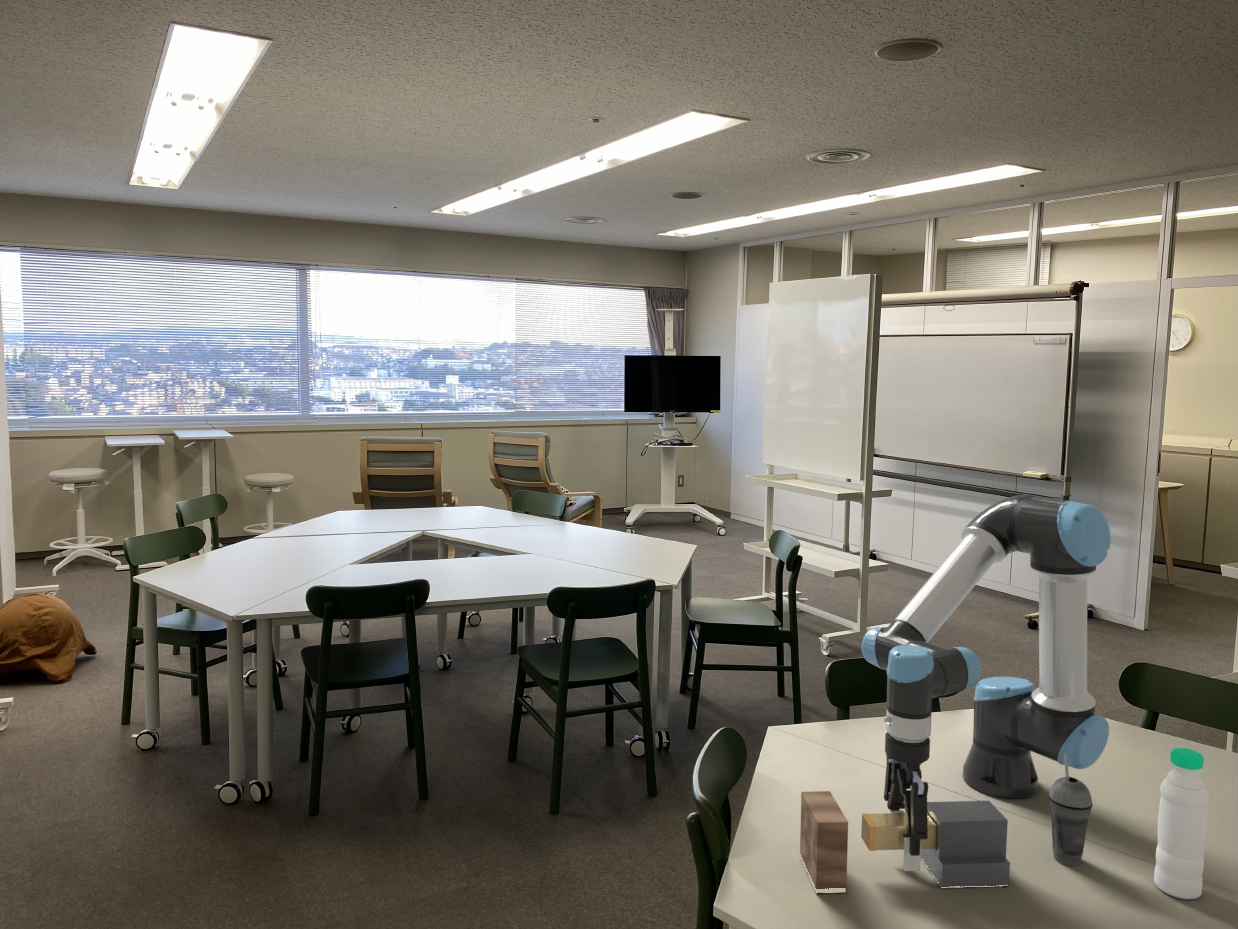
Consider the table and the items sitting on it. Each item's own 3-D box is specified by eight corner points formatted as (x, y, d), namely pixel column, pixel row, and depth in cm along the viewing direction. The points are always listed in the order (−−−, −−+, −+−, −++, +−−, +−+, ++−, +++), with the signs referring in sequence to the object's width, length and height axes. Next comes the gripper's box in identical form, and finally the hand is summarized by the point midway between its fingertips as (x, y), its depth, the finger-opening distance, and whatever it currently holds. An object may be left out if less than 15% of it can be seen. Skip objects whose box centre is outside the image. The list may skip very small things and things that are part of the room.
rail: (861, 837, 157) (861, 813, 157) (980, 834, 158) (981, 810, 158) (869, 851, 153) (870, 826, 152) (991, 847, 154) (992, 823, 153)
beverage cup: (1087, 875, 155) (1094, 768, 153) (1042, 862, 159) (1048, 758, 157) (1090, 855, 162) (1096, 753, 159) (1047, 844, 165) (1052, 744, 163)
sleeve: (919, 857, 161) (921, 798, 160) (982, 855, 162) (985, 796, 161) (941, 889, 151) (944, 826, 150) (1008, 887, 152) (1011, 824, 151)
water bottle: (1186, 906, 146) (1196, 764, 144) (1144, 884, 153) (1154, 748, 150) (1210, 894, 150) (1221, 755, 147) (1168, 873, 156) (1178, 740, 153)
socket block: (799, 858, 161) (801, 791, 159) (828, 858, 161) (829, 791, 160) (815, 894, 150) (817, 822, 148) (846, 893, 150) (848, 822, 149)
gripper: (868, 712, 163) (864, 828, 166) (908, 760, 143) (903, 891, 146) (907, 711, 163) (903, 827, 166) (952, 759, 143) (947, 889, 146)
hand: (903, 857), depth 156 cm, fingers open, 7 cm apart
